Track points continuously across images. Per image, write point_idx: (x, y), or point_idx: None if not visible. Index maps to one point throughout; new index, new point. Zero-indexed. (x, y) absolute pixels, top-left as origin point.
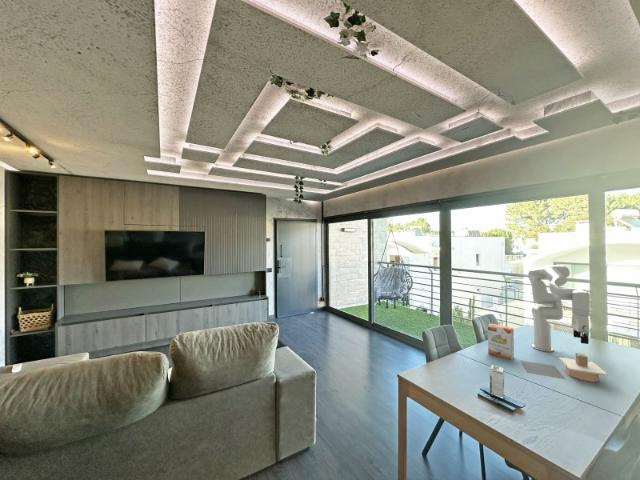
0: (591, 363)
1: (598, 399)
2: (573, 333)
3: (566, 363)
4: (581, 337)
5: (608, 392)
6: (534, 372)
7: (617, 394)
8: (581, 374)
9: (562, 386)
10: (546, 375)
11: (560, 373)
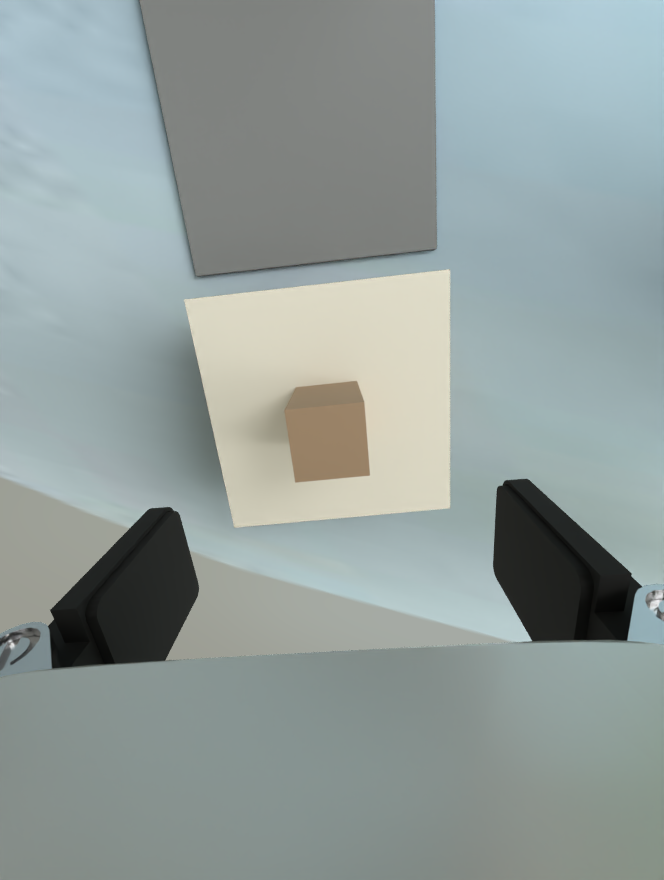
0: (409, 489)
1: (24, 394)
2: (564, 514)
3: (297, 301)
4: (74, 593)
5: (168, 467)
6: (175, 31)
7: (172, 499)
8: None
9: (62, 228)
10: (175, 137)
11: (288, 261)
